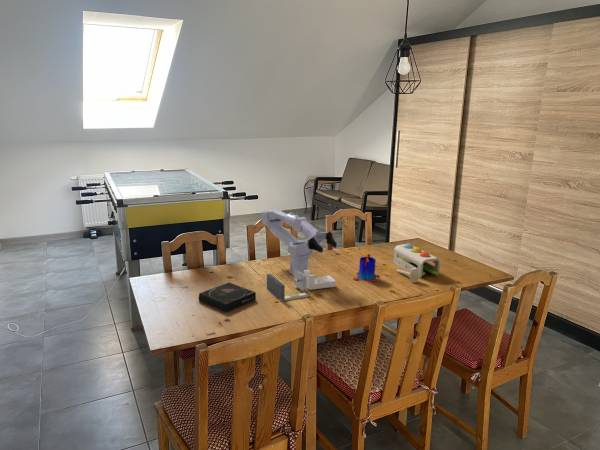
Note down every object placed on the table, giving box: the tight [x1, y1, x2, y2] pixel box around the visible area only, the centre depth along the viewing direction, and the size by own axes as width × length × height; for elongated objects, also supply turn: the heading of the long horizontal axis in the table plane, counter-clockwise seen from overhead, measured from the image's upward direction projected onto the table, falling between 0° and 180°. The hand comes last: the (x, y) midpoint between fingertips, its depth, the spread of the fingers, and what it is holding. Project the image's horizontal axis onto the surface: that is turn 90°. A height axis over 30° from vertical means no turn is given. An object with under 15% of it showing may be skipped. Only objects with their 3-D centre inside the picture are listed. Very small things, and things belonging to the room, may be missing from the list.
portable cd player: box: [198, 282, 257, 314], centre depth 192 cm, size 16×17×4 cm
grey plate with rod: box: [266, 273, 309, 302], centre depth 201 cm, size 15×13×7 cm
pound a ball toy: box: [393, 243, 441, 284], centre depth 230 cm, size 28×18×12 cm, turn 21°
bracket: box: [304, 269, 337, 291], centre depth 208 cm, size 13×7×8 cm, turn 111°
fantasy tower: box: [352, 253, 381, 284], centre depth 220 cm, size 12×12×12 cm
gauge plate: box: [293, 269, 309, 294], centre depth 202 cm, size 12×3×7 cm, turn 28°
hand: (329, 248), depth 202 cm, fingers open, 7 cm apart
